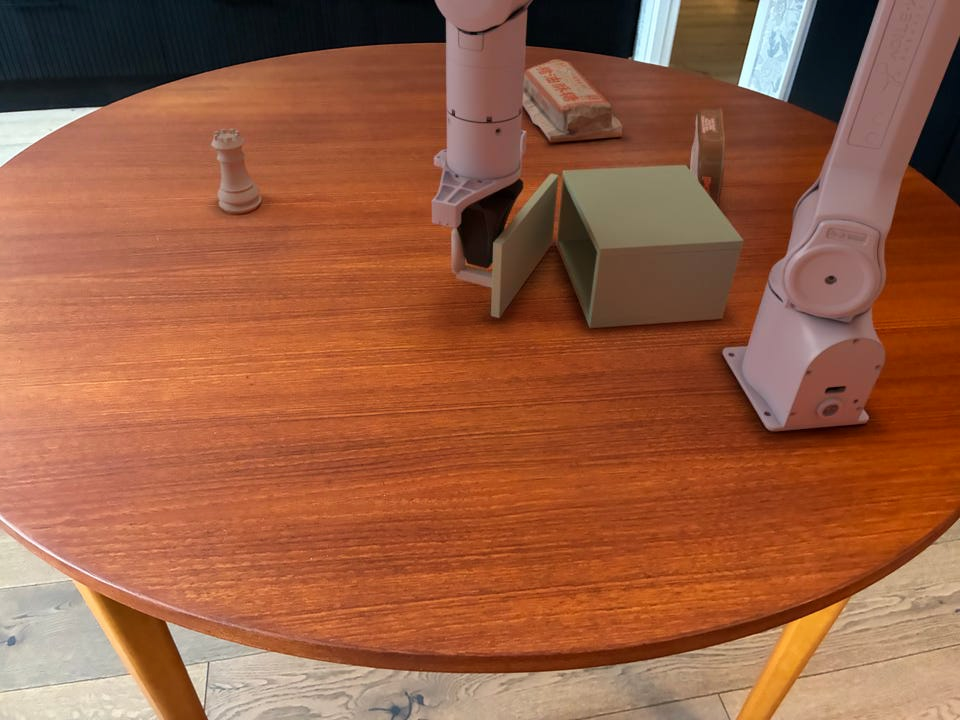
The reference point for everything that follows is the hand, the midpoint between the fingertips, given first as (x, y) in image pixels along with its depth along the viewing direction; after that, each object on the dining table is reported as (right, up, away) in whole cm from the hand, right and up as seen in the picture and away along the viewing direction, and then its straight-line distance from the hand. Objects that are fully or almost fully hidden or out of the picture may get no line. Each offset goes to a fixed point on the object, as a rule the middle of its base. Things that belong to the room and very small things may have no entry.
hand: (480, 261), depth 66 cm
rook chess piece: (-26, +8, +16) cm, 31 cm away
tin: (+24, +10, +19) cm, 32 cm away
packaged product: (+11, +24, +36) cm, 45 cm away
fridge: (+14, -1, +6) cm, 16 cm away
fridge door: (+2, 0, +6) cm, 6 cm away
